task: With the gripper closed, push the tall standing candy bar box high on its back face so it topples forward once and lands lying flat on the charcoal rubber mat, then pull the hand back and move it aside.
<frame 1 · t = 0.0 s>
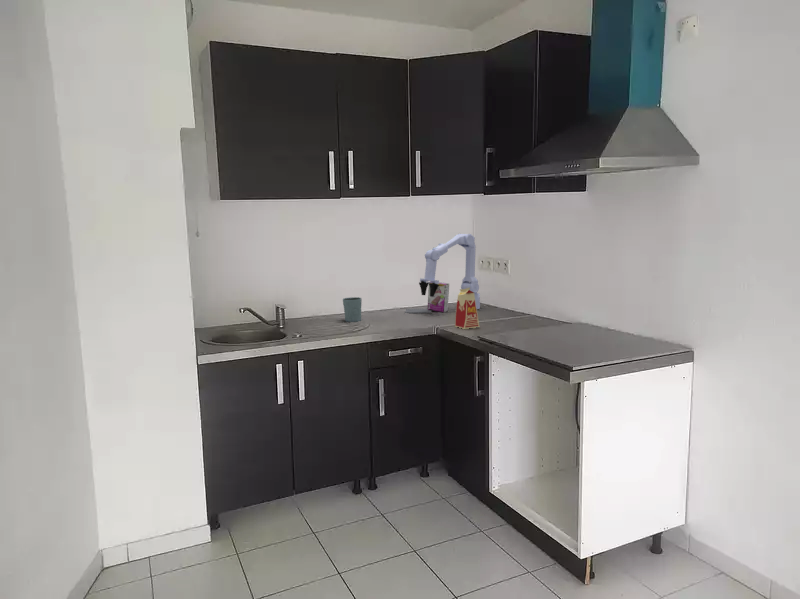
hand: (427, 295, 327), 11 cm above the countertop, tool pointing down, fingers open, 7 cm apart
milk carton: (466, 327, 289), on the countertop
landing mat: (418, 311, 339), on the countertop
candy bar box: (437, 310, 338), on the countertop
teal cup: (352, 320, 315), on the countertop
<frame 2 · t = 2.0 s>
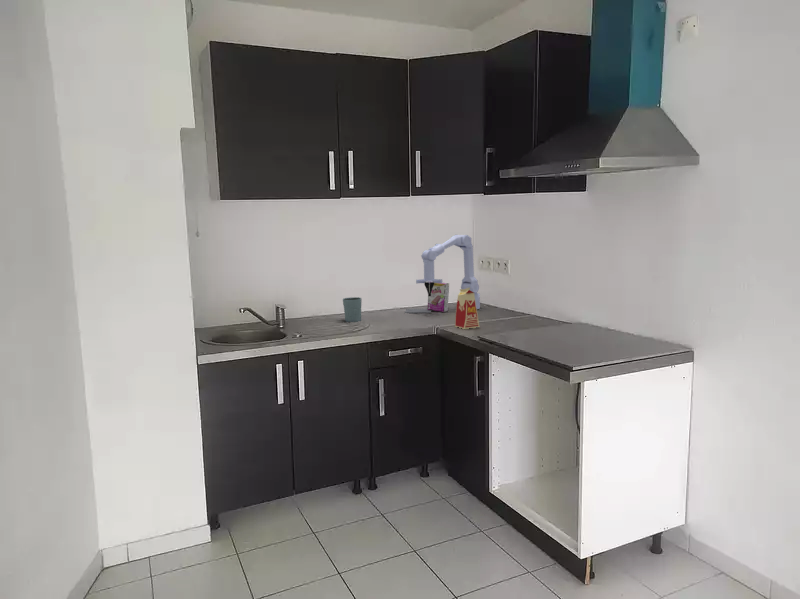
hand: (429, 296, 327), 10 cm above the countertop, tool pointing down, fingers closed
candy bar box: (437, 311, 338), on the countertop, touching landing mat
everything else where it was.
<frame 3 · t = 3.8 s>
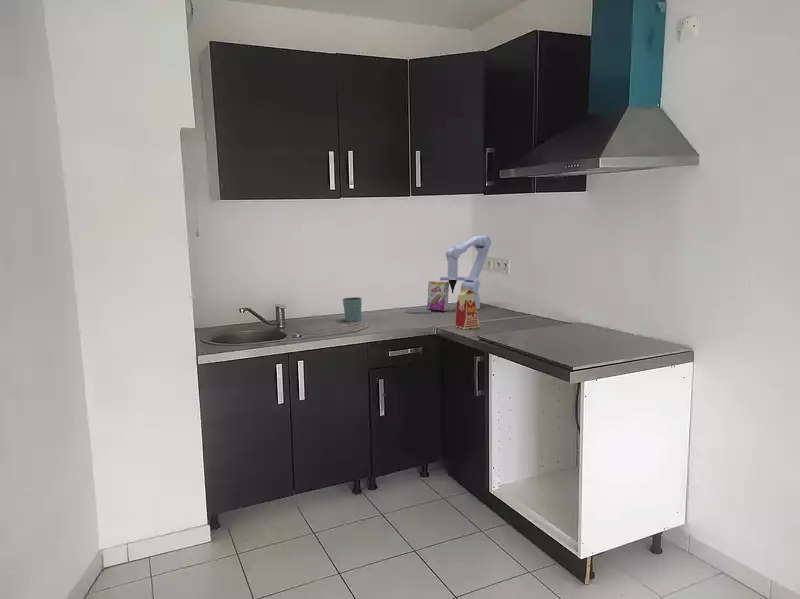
hand: (452, 293, 335), 11 cm above the countertop, tool pointing down, fingers closed
candy bar box: (437, 310, 338), point 1 cm above the countertop, touching gripper, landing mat
everything else where it was.
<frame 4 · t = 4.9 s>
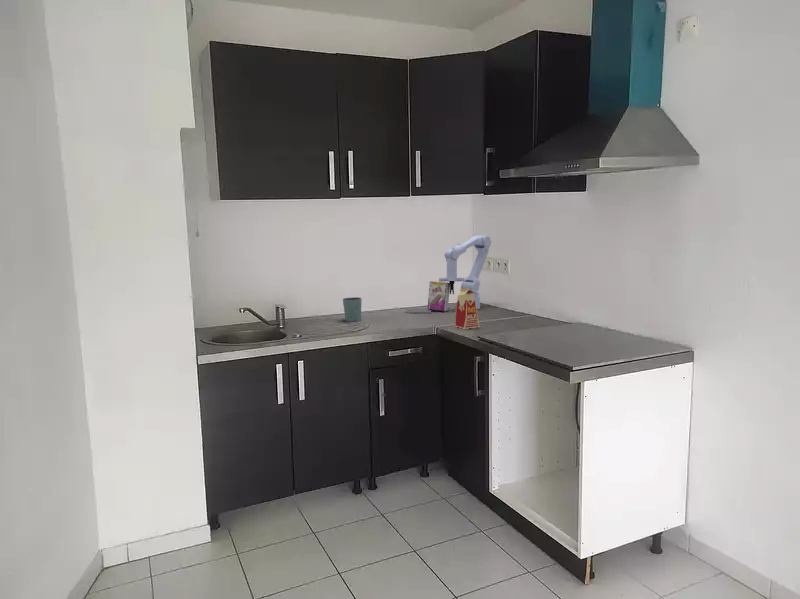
hand: (451, 294, 335), 10 cm above the countertop, tool pointing down, fingers closed, pressing on candy bar box
candy bar box: (437, 310, 338), on the countertop, touching gripper, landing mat
everything else where it was.
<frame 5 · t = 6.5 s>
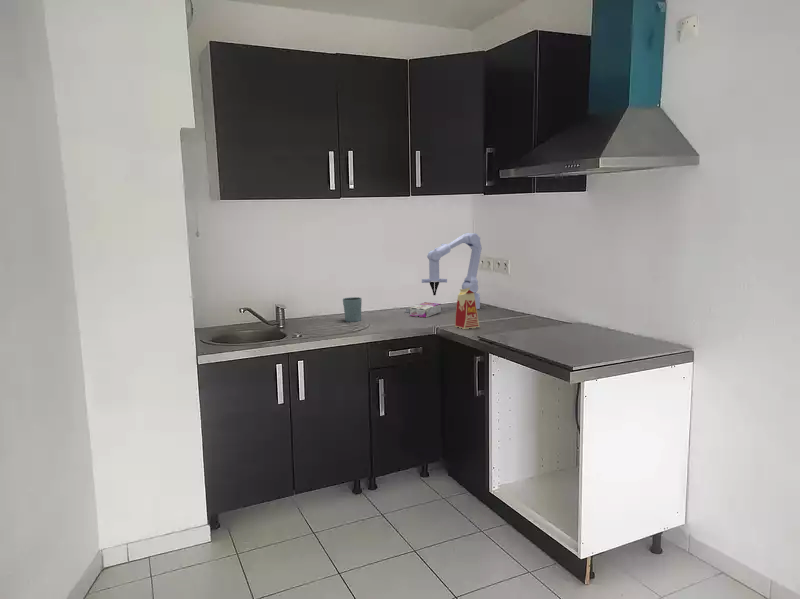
hand: (434, 295, 337), 9 cm above the countertop, tool pointing down, fingers closed
candy bar box: (433, 307, 334), point 3 cm above the countertop, touching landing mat
everything else where it was.
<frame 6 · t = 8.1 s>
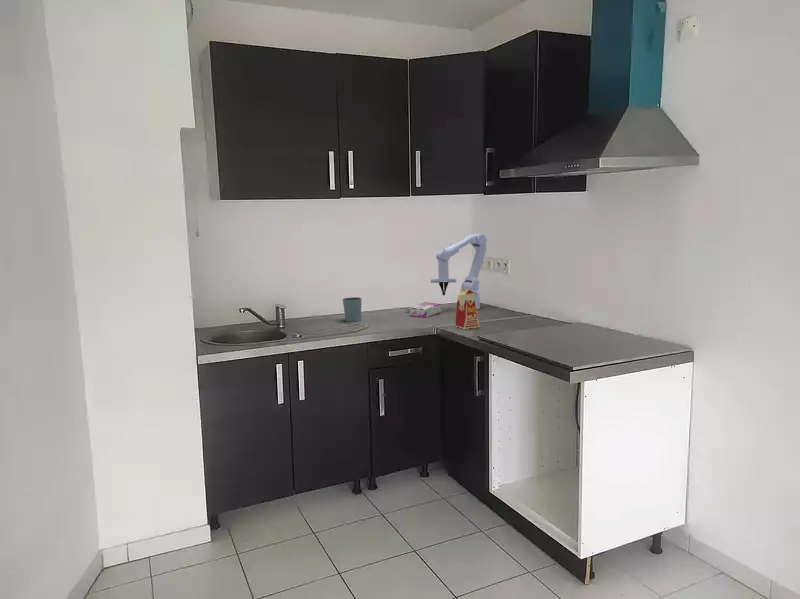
hand: (443, 295, 336), 9 cm above the countertop, tool pointing down, fingers closed
nothing on the countertop moved.
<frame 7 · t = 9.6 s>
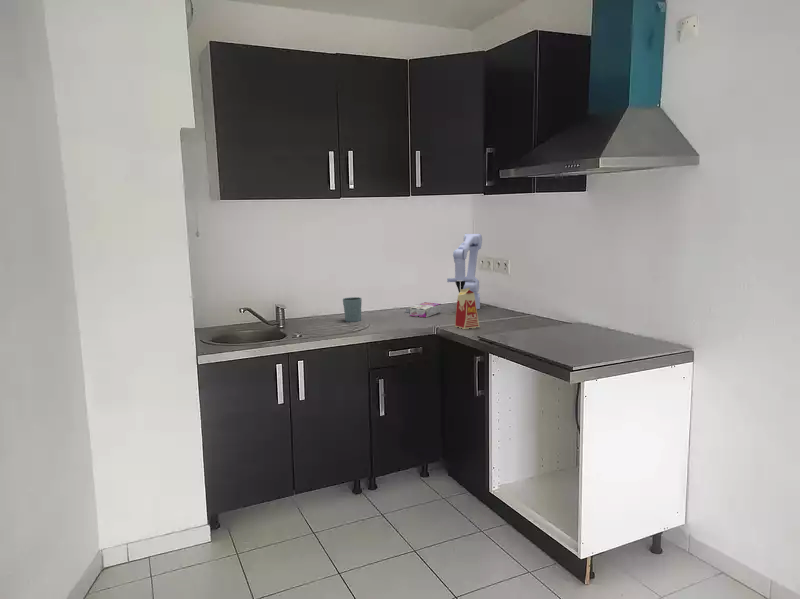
hand: (460, 294, 328), 10 cm above the countertop, tool pointing down, fingers closed
nothing on the countertop moved.
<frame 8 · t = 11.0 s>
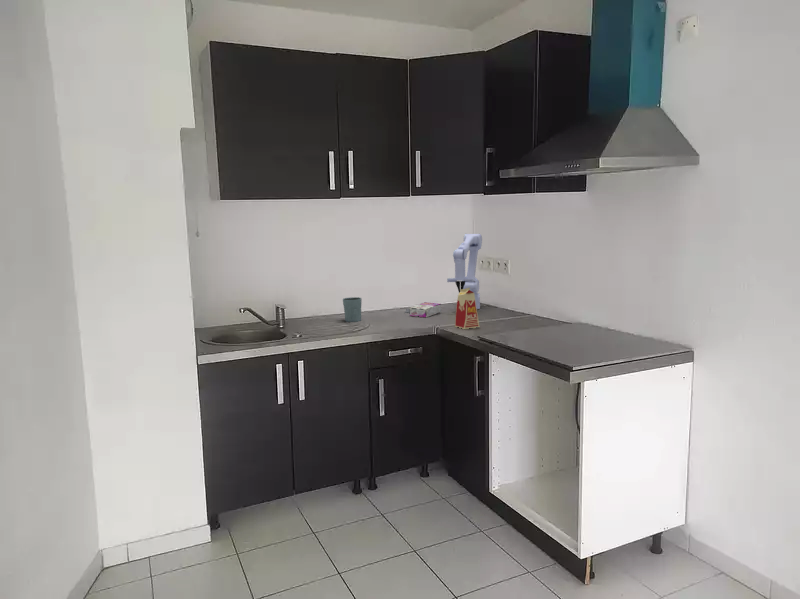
hand: (460, 294, 328), 10 cm above the countertop, tool pointing down, fingers closed
nothing on the countertop moved.
at the end: candy bar box tilted 92°; candy bar box touching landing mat, countertop; candy bar box inside the target area (7.8 cm from its centre), point 3.1 cm above the countertop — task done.
